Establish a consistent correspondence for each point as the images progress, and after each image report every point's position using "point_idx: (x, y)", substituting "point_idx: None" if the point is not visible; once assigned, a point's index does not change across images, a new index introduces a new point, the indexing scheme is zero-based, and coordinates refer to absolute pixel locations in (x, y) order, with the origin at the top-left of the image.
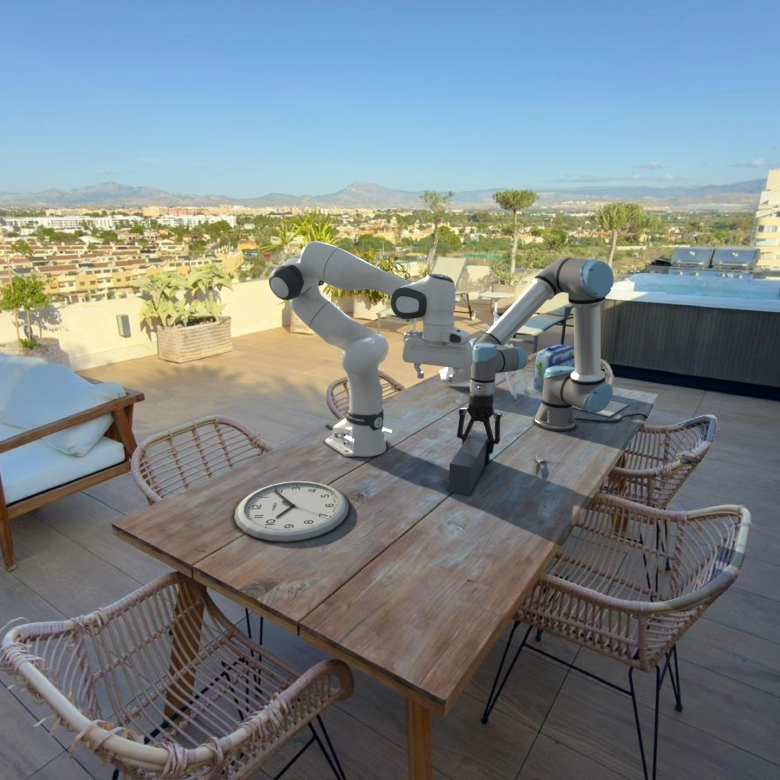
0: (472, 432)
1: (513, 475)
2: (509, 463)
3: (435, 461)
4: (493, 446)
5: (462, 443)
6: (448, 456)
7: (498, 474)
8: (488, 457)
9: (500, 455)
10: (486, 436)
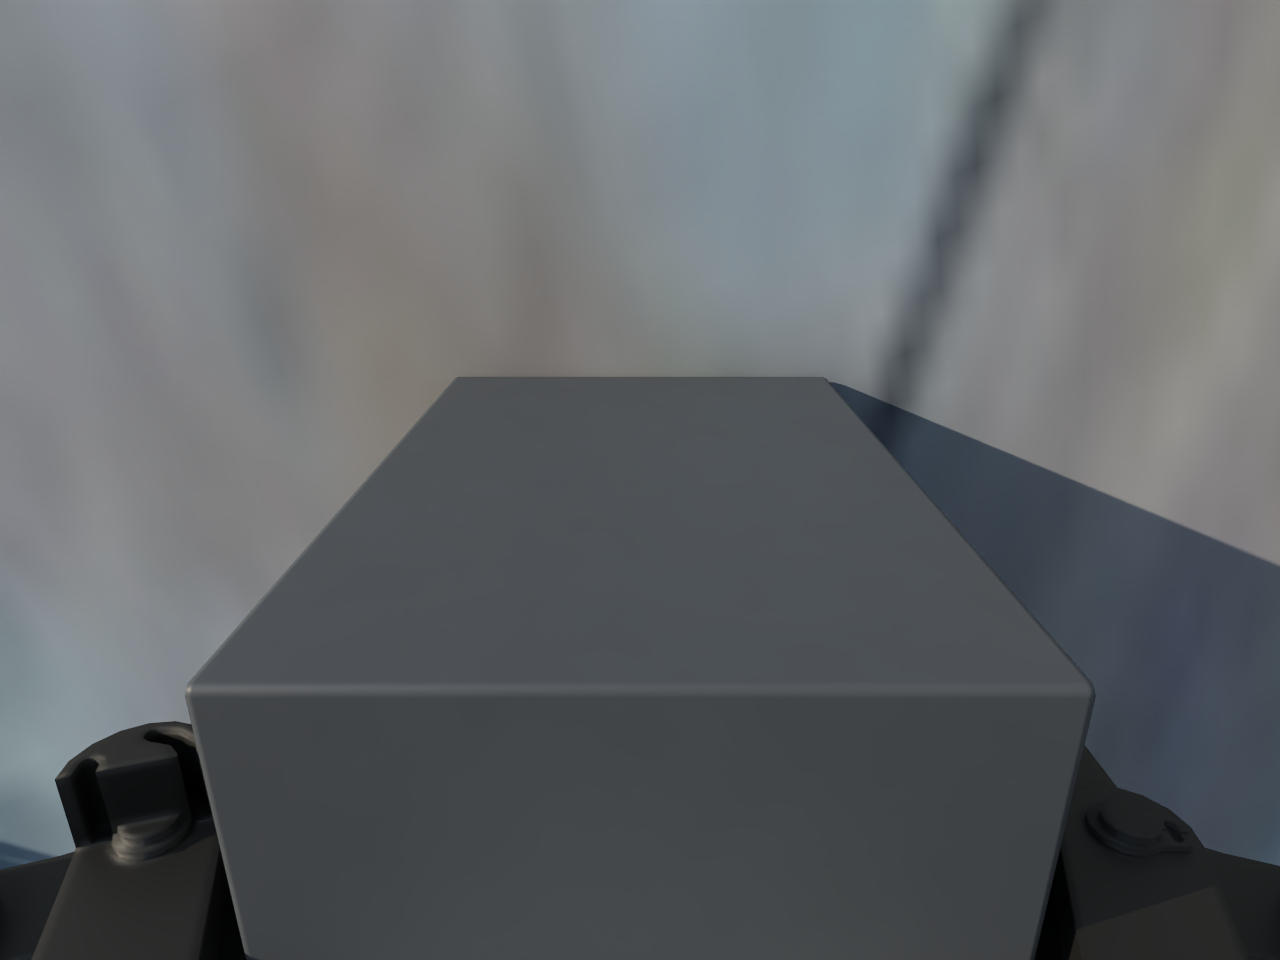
0: (276, 793)
1: (1263, 793)
2: (1240, 404)
3: (37, 796)
4: (1087, 777)
5: None
6: (114, 554)
7: None
8: None
9: (1067, 70)
10: (947, 952)
